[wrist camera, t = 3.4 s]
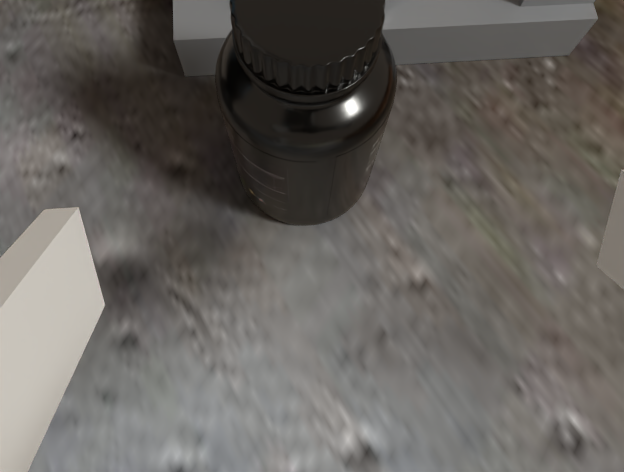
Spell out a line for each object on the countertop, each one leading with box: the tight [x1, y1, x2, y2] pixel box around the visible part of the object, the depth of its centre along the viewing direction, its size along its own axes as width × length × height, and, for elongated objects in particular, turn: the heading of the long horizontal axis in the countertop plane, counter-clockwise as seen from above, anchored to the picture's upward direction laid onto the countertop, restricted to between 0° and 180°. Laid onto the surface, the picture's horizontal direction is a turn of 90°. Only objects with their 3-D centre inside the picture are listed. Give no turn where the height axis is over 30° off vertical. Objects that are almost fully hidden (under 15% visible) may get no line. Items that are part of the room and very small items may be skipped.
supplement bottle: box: [215, 0, 397, 225], centre depth 21 cm, size 7×7×12 cm
